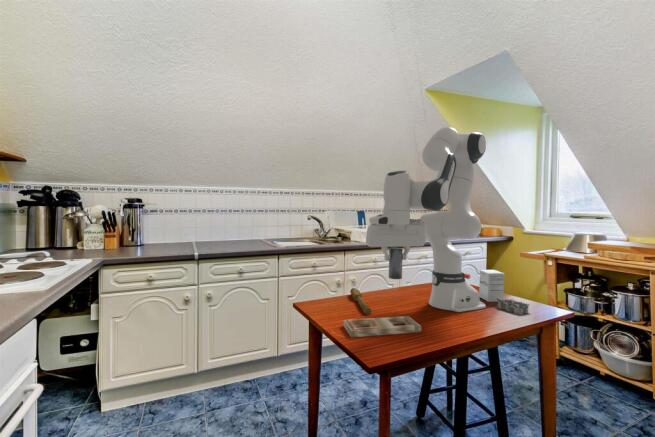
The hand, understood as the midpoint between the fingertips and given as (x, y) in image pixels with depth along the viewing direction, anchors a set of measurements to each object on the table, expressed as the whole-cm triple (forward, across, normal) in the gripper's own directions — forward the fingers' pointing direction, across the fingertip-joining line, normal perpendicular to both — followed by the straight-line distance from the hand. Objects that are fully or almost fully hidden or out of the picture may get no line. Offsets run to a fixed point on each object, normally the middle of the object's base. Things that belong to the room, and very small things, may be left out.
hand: (395, 259), depth 115 cm
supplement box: (+23, -56, -24) cm, 65 cm away
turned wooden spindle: (+24, +3, -30) cm, 39 cm away
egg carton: (+24, -55, -10) cm, 61 cm away
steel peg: (+6, 0, 0) cm, 6 cm away
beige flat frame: (+24, +4, 0) cm, 24 cm away
